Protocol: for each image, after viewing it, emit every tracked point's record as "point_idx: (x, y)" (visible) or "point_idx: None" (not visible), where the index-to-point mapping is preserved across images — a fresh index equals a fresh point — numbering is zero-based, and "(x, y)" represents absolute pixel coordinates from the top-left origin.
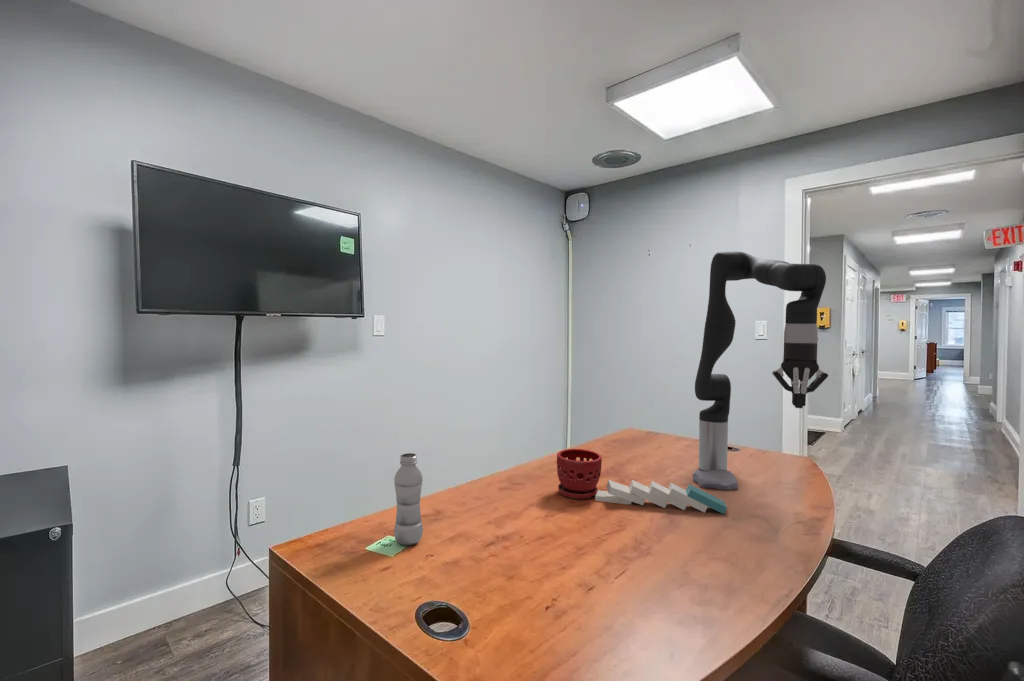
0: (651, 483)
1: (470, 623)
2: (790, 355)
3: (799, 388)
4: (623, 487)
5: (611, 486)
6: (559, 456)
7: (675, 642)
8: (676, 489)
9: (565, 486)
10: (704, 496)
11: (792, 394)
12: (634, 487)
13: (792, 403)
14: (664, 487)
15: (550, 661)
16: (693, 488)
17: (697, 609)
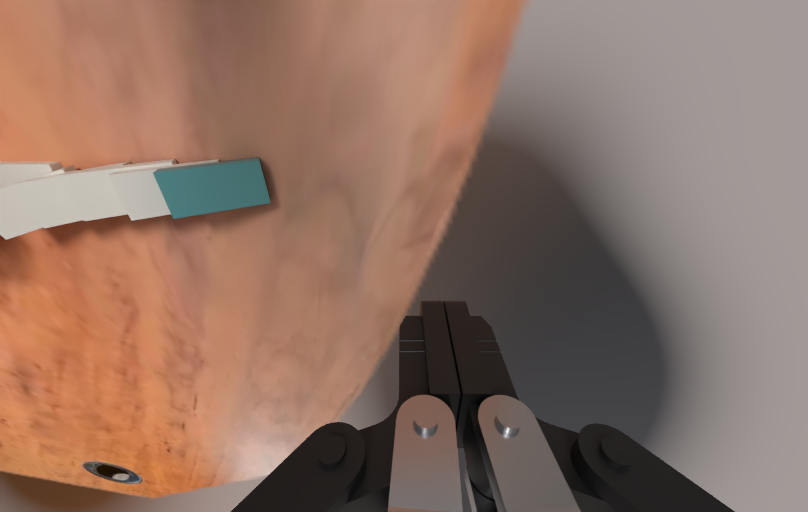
0: (66, 187)
1: (134, 471)
2: None
3: (484, 459)
4: (21, 204)
5: (3, 234)
6: None
7: (270, 457)
8: (141, 208)
9: None
10: (212, 212)
11: (399, 398)
12: (51, 226)
13: (401, 332)
14: (104, 175)
15: (205, 482)
16: (175, 195)
17: (277, 428)
